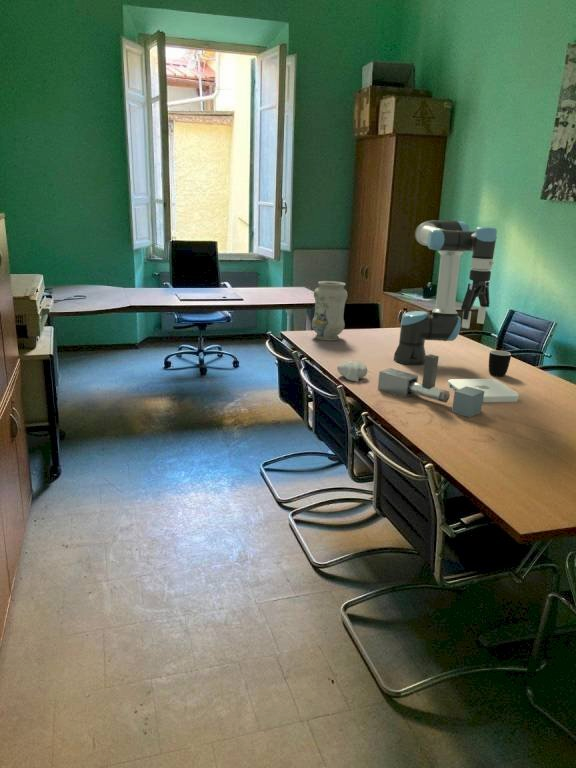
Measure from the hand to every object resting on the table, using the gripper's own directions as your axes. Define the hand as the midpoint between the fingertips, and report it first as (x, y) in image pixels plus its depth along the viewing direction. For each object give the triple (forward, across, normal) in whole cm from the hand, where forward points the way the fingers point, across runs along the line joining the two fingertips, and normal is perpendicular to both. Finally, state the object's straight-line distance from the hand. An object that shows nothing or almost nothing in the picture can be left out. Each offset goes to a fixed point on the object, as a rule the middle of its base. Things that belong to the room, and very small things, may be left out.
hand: (472, 325), depth 221 cm
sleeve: (+28, -19, +20) cm, 39 cm away
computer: (+28, +6, -5) cm, 29 cm away
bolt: (+26, -19, +11) cm, 34 cm away
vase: (+27, +32, +93) cm, 102 cm away
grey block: (+28, -20, -10) cm, 35 cm away
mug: (+27, +38, +2) cm, 47 cm away
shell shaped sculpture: (+28, -17, +43) cm, 54 cm away
